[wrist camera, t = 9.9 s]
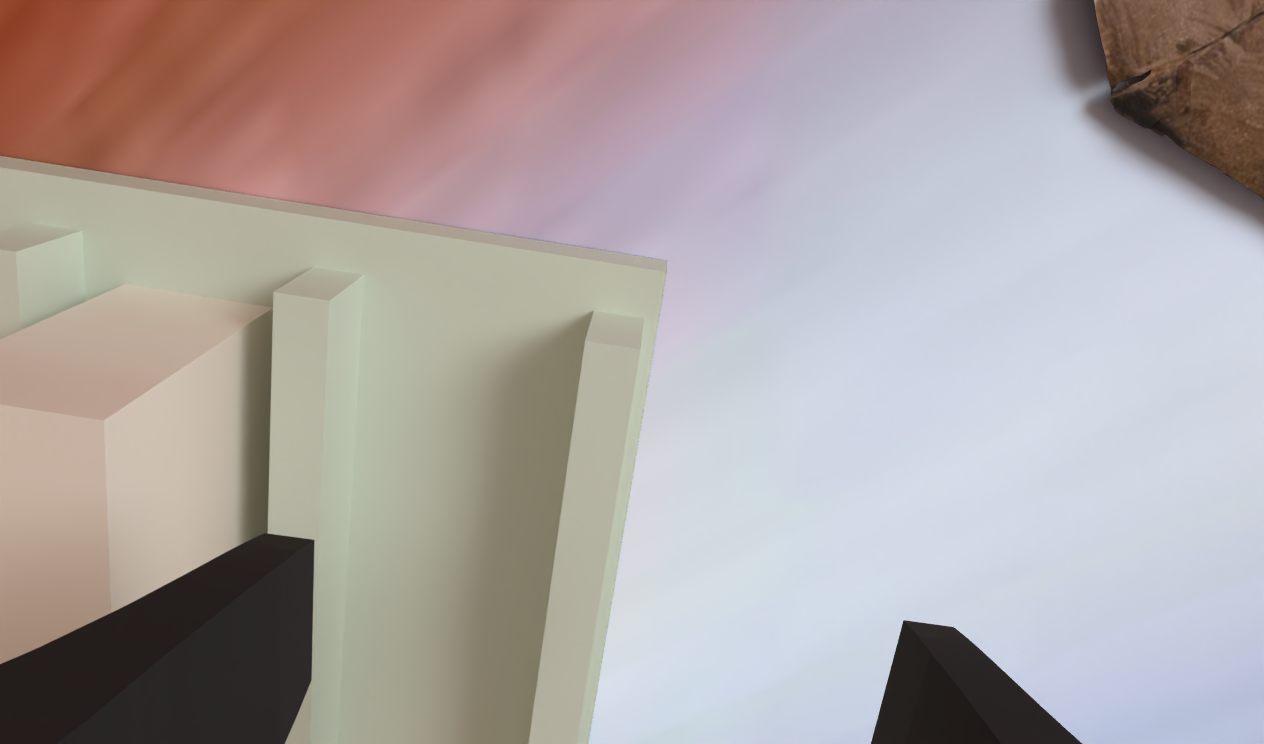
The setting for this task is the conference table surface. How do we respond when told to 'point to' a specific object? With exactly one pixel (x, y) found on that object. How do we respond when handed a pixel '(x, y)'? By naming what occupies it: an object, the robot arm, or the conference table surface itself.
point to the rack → (400, 432)
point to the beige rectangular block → (127, 453)
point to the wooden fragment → (1192, 76)
